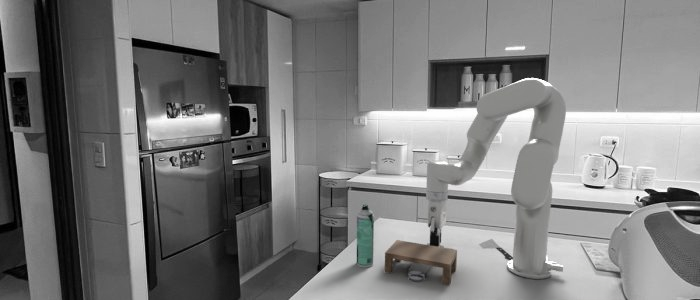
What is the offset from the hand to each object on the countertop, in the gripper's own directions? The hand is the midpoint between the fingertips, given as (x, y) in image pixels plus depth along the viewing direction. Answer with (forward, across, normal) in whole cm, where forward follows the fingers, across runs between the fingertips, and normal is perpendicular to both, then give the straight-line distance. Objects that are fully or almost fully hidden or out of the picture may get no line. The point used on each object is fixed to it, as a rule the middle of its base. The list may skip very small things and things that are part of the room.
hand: (435, 243), depth 137 cm
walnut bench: (+2, -21, 0) cm, 21 cm away
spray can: (+2, -24, +18) cm, 30 cm away
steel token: (+2, -26, 0) cm, 26 cm away
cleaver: (+2, +12, -17) cm, 21 cm away
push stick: (+2, -11, 0) cm, 11 cm away
